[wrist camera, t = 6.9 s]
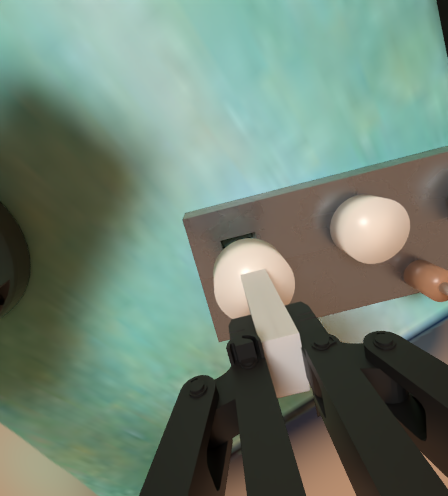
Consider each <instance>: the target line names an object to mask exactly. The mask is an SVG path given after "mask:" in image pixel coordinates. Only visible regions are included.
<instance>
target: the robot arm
mask: <svg viewBox="0 0 448 496" xmlns="http://www.w3.org/2000/svg"><path fill="white" fill-rule="evenodd" d="M29 275H30V257H29V251H28V247H27V244H26V241H25V238H24V236H23V233H22V231H21V229H20V228H19V226H18V224H17V222H16V221H15V219H14V218H13V216H12V215H11V214H10V213H9V211H8V210H7V209H6V208H5V207H4V206H3V204H2V203H1V202H0V318H1V317H2V316H4V315H5V314H6V313H8V312H9V311H10V310H11V309H12V308H13V307H14V306H15V305H16V304H17V303H18V302H19V300H20V299H21V297H22V296H23V294H24V292H25V290H26V287H27V284H28V280H29ZM240 276H241V280H242V284H243V288H244V292H245V296H246V300H247V304H248V308H249V312H250V315H247V316H243V317H239V318H235V319H232V320H231V322H230V324H229V326H228V327H229V335H230V341H229V342H228V343H227V348H226V349H227V352H228V356H229V359H230V363H231V367H230V369H229V370H228V371H227V372H226V373H225V374H224V375H222V376H221V377H219V378H217V379H215V380H213V378H211V377H210V376H206V375H200V376H196V377H194V378H192V379H190V380H188V381H187V382H186V383H185V384H184V385H183V387H182V389H181V390H180V393H179V396H178V398H177V401H176V403H175V406H174V408H173V411H172V413H171V416H170V418H169V421H168V424H167V426H166V429H165V431H164V434H163V436H162V439H161V441H160V444H159V446H158V449H157V451H156V454H155V457H154V459H153V462H152V464H151V467H150V469H149V472H148V474H147V477H146V479H145V482H144V485H143V487H142V490H141V492H140V495H139V496H224V495H225V489H226V482H227V476H228V469H229V462H230V456H231V449H232V438H233V437H235V436H236V435H238V434H240V441H241V449H242V457H243V466H244V473H245V482H246V491H247V496H306V494H305V490H304V487H303V483H302V480H301V477H300V473H299V470H298V467H297V463H296V460H295V456H294V453H293V450H292V446H291V443H290V440H289V436H288V433H287V430H286V426H285V423H284V419H283V416H282V413H281V409H280V406H279V403H278V399H277V398H281V397H285V396H289V395H293V394H298V393H302V392H306V391H310V386H311V388H312V390H313V395H314V400H315V405H316V410H317V415H318V416H320V414H321V417H322V419H323V421H324V423H325V425H326V428H327V430H328V432H329V434H330V437H331V439H332V441H333V444H334V446H335V448H336V450H337V453H338V455H339V457H340V460H341V462H342V464H343V466H344V469H345V471H346V473H347V475H348V477H349V480H350V482H351V484H352V486H353V489H354V491H355V493H356V496H448V489H447V488H446V486H445V485H444V483H443V482H442V480H441V479H440V478H439V476H438V475H437V474H436V472H435V471H434V470H433V468H432V467H431V465H430V464H429V463H428V461H427V460H426V459H425V457H424V456H423V454H424V455H425V456H426V457H427V458H428V459H429V460H430V461H431V462H432V463H433V464H434V465H435V466H436V467H437V468H438V469H439V470H440V471H441V472H442V473H443V474H444V475H445V476H447V477H448V365H447V364H445V363H444V362H442V361H440V360H439V359H437V358H435V357H434V356H432V355H430V354H429V353H427V352H425V351H424V350H422V349H420V348H419V347H417V346H415V345H414V344H412V343H410V342H409V341H407V340H405V339H404V338H402V337H400V336H399V335H396V334H394V333H391V332H386V331H376V332H372V333H369V334H368V335H366V336H365V338H364V340H363V343H359V344H350V343H342V342H340V341H339V339H337V338H336V337H335V336H333V335H331V334H328V333H327V331H326V330H325V328H324V327H323V326H322V324H321V323H320V321H319V320H318V318H317V317H316V316H315V314H314V313H313V311H312V310H311V308H310V307H309V306H308V305H307V304H305V303H303V302H301V301H300V302H296V303H292V304H288V305H284V304H283V302H282V300H281V298H280V296H279V294H278V292H277V290H276V289H275V287H274V285H273V283H272V281H271V279H270V277H269V275H268V274H267V272H266V270H265V269H262V270H258V271H254V272H250V273H246V274H242V275H240ZM309 384H310V386H309ZM420 451H421V452H422V453H423V454H422V453H421V452H420Z"/></svg>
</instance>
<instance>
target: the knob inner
mask: <svg viewBox="0 0 448 496" xmlns="http://www.w3.org/2000/svg"><path fill="white" fill-rule="evenodd" d="M262 269H265V270H266V272H267V274H268V275H269V277H270V279H271V281H272V283H273V285H274V287H275V289H276V290H277V292H278V294H279V296H280V298H281V300H282V302H283V304H284V305H288V304H289V303H290V302H291V300H292V297H293V294H294V290H295V278H294V274H293V272H292V269H291V268H290V266H289V264H288V263H287V262H286V261H285V259H284V258H283V257H282V256H281V254H280V253H279V252H278V251H277V249H276V248H275V247H274V246H272V245H271V244H270V243H268V242H266V241H263V240H260V239H256V238H246V239H241V240H238V241H235V242H233V243H231V244H230V245H228V246H227V247H226V248H224V249H223V250H222V251H221V253H220V254H219V255H218V257H217V259H216V261H215V264H214V269H213V279H214V294H215V298H216V301H217V303H218V305H219V307H220V308H221V310H222V311H223V312H224V313H225V314H226V315H227V316H229V317H230V318H232V319H235V318H239V317H243V316H247V315H250V312H249V308H248V304H247V300H246V296H245V292H244V288H243V284H242V280H241V276H240V275H242V274H246V273H250V272H254V271H258V270H262Z"/></svg>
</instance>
